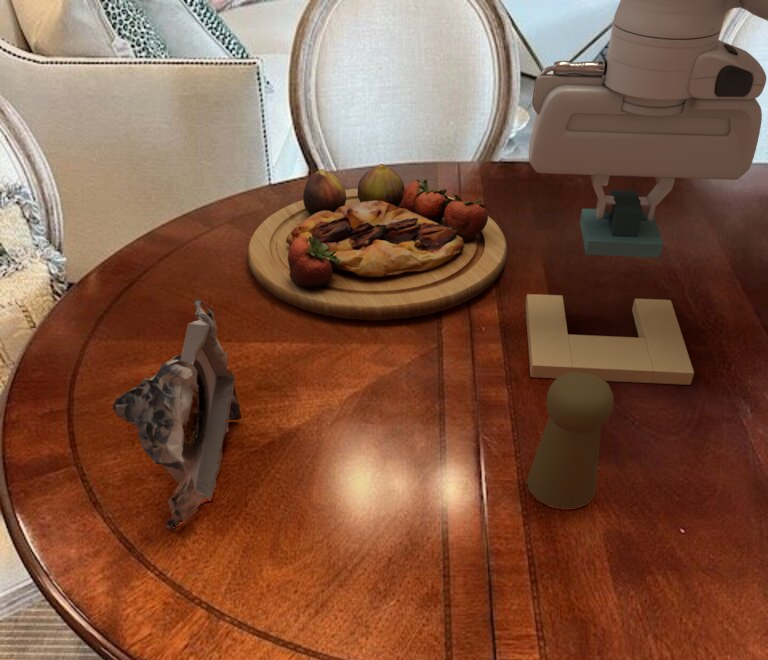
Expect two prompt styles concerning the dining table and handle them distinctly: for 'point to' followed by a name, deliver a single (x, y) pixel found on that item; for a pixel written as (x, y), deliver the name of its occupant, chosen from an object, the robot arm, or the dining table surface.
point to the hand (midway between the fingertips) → (623, 217)
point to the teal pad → (619, 244)
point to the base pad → (608, 345)
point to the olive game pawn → (571, 441)
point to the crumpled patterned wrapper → (186, 415)
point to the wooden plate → (377, 248)
